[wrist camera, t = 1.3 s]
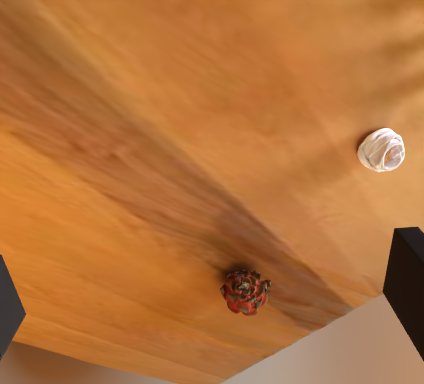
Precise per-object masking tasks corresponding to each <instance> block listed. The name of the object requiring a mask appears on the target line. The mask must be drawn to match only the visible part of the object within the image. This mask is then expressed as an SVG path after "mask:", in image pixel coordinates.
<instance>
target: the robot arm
mask: <svg viewBox="0 0 424 384" xmlns="http://www.w3.org/2000/svg"><path fill="white" fill-rule="evenodd" d="M383 293H384V295H385V297H386V298H387V300H388V302H389V303H390V305H391V307H392V308H393V310H394V312H395V313H396V315H397V317H398V319H399V320H400V322H401V324H402V325H403V327H404V329H405V330H406V332H407V334H408V335H409V337H410V339H411V341H412V342H413V344H414V346H415V347H416V349H417V351H418V352H419V354H420V356H421V357H422V359H423V361H424V233H423V232H422V231H421V230H420V229H419V227H407V228H394V233H393V239H392V244H391V249H390V255H389V260H388V266H387V271H386V276H385V282H384V287H383ZM25 315H26V313H25V311H24V308H23V306H22V303H21V301H20V298H19V296H18V294H17V291H16V289H15V286H14V284H13V281H12V279H11V277H10V274H9V272H8V269H7V267H6V264H5V262H4V260H3V257H2V255H0V360H1V358H2V357H3V355H4V353H5V351H6V349H7V348H8V346H9V344H10V342H11V341H12V339H13V337H14V335H15V333H16V332H17V330H18V328H19V326H20V324H21V323H22V321H23V319H24V317H25Z"/></svg>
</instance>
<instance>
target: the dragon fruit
mask: <svg viewBox="0 0 424 384" xmlns="http://www.w3.org/2000/svg"><path fill="white" fill-rule="evenodd" d="M225 283H226V285H225V284H224V285H223V287H222V288H220V290H221V293H222V295H223V297H224V299H225V300H226V301H227V305H228V308H229V309H230V310H231V311H232V312H234V313H236V314H237V313H239V312H242V313H243V314H244V315H246V316H251V315H256V313H257V308H259V307H261V306H264V305H265V304H266V302H267V300H268V294H269V292H270V291H268V292H267V294H266V293H265V292H266V291H267V288H268V286H270V287H271V282H270V280H265V281H260V273H259V272H258V271H256V270H255V271H253V272H251V271H250V272H248V271H247V270H238V271H234V272H232V273H229V274H228V275H227V276H226V278H225Z"/></svg>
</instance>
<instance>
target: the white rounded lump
mask: <svg viewBox="0 0 424 384" xmlns="http://www.w3.org/2000/svg"><path fill="white" fill-rule="evenodd" d="M390 148H391V150H390V154H389V156H388V158H387V161H386V162H385V163H384V157H385V154H386V152H387V151H388V150H389V149H390ZM357 156H358V159H359V160H360V162H361V163H362V164H363V165H364V166H366V167H367V168H369V169H371V170H374V171H377V172H384V171H390V170H393V169H395V168H397V167H398V166H399V165H400V163H401V162H402V161H403V159H404V156H405V149H404V145H403V141H402V139H401V136H400V135H397V134H396V133H395V132H393V131H392V130H391V129H389V128H382V129H379V130H377V131H375V132H373V133H372V134H370V135H369V136H367V138H366V139H365V140H364V141H363V143H361V145H360V146H359V149H358V152H357ZM366 159H368V161H369V162H370V163H371V164H372V165H373V166H375V167H376V168H374V167H373V166H372V165H370V164H369V163H368V161H367V160H366Z"/></svg>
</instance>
